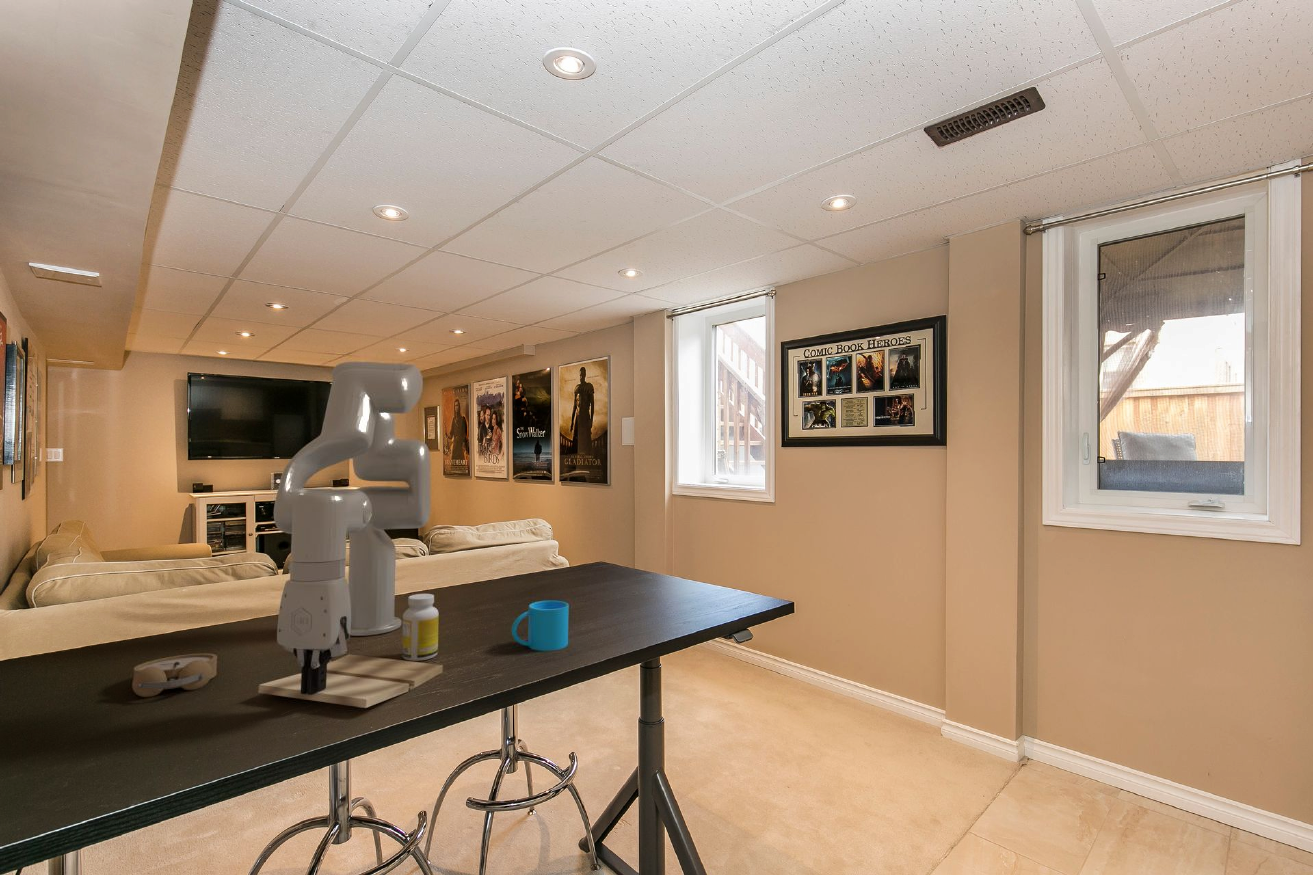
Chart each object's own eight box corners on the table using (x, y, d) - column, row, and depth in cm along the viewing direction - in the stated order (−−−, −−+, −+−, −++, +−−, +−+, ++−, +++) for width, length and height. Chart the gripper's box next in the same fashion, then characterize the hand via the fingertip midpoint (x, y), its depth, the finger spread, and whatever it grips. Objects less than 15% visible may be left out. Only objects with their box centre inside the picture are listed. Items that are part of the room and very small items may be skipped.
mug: (558, 636, 133) (559, 598, 133) (574, 647, 126) (575, 607, 126) (504, 645, 126) (505, 605, 127) (518, 656, 119) (519, 614, 120)
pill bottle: (444, 653, 120) (446, 594, 121) (422, 664, 114) (423, 601, 114) (417, 649, 122) (419, 591, 123) (394, 659, 116) (395, 598, 117)
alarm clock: (218, 650, 112) (215, 658, 100) (217, 678, 111) (213, 690, 99) (139, 660, 106) (124, 670, 94) (137, 690, 105) (122, 704, 93)
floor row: (311, 677, 107) (311, 670, 107) (349, 660, 115) (349, 654, 115) (410, 690, 102) (410, 682, 102) (442, 671, 110) (442, 665, 110)
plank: (258, 692, 96) (259, 684, 97) (308, 678, 106) (309, 670, 106) (365, 707, 91) (366, 699, 92) (408, 691, 101) (409, 683, 101)
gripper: (258, 572, 93) (252, 695, 92) (340, 578, 90) (335, 705, 89) (298, 565, 101) (294, 678, 100) (375, 570, 97) (371, 688, 96)
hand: (313, 691), depth 94 cm, fingers closed
